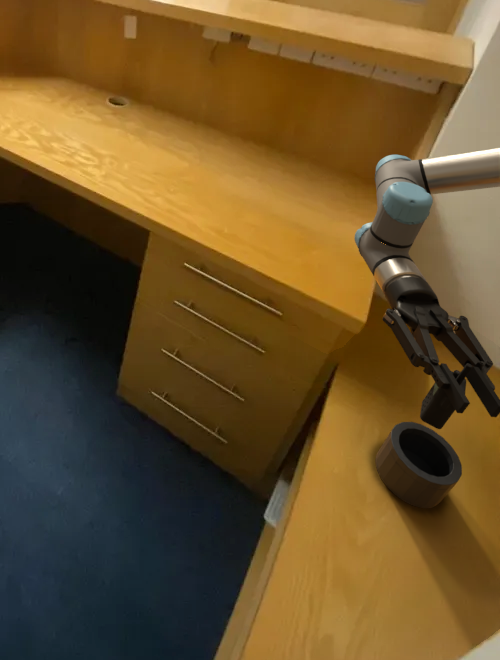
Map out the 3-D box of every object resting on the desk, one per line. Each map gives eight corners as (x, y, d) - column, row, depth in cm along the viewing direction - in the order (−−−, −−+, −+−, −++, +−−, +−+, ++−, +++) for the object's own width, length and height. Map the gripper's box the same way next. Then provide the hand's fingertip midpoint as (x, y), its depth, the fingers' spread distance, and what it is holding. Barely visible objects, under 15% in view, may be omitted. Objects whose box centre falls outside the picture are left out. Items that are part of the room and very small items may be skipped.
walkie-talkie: (422, 399, 88) (458, 344, 80) (445, 411, 86) (485, 356, 78) (418, 420, 85) (456, 365, 77) (442, 433, 83) (484, 378, 75)
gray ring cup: (430, 455, 91) (449, 431, 87) (451, 517, 83) (472, 493, 79) (369, 439, 94) (384, 414, 90) (383, 497, 86) (400, 473, 82)
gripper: (445, 307, 96) (530, 431, 76) (351, 298, 98) (410, 417, 78) (462, 279, 92) (556, 402, 72) (364, 270, 94) (429, 388, 74)
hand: (480, 409), depth 75 cm, fingers closed on walkie-talkie, 4 cm apart
